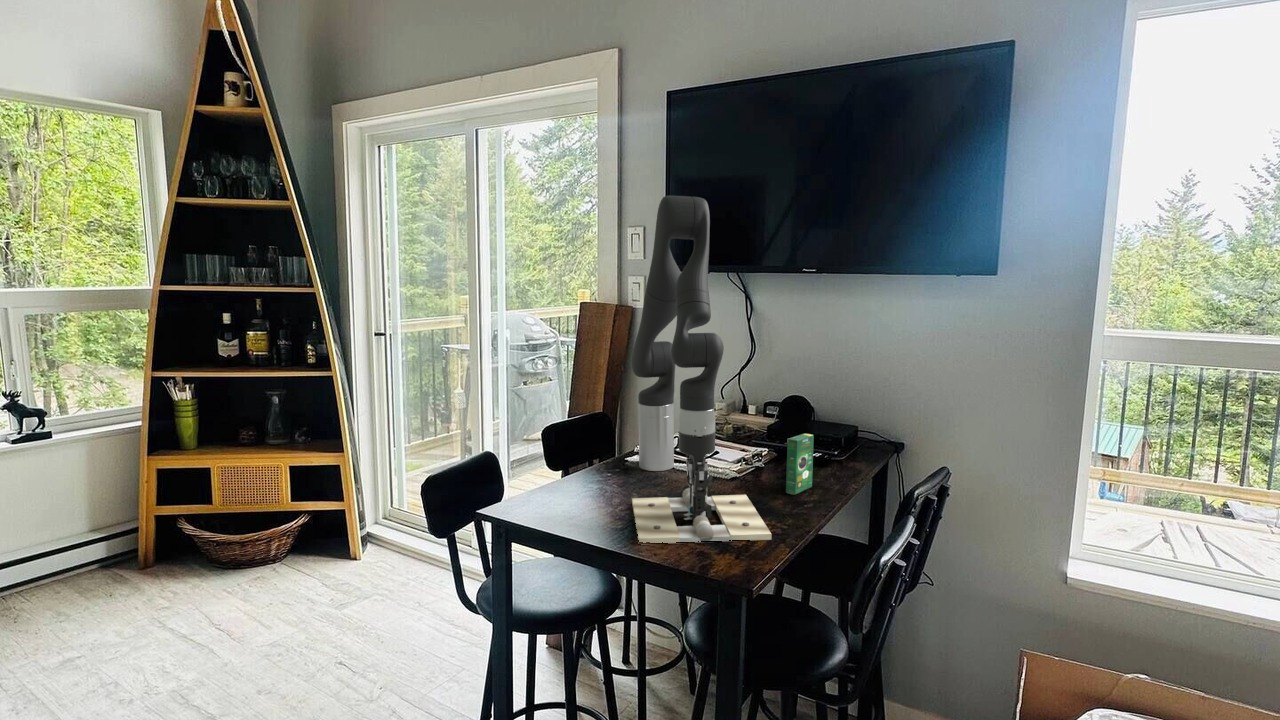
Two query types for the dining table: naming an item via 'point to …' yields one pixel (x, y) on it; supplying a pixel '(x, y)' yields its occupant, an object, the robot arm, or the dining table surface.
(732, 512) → the hinge plate
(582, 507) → the dining table surface
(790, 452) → the coffee box
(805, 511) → the dining table surface
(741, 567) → the dining table surface
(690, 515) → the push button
